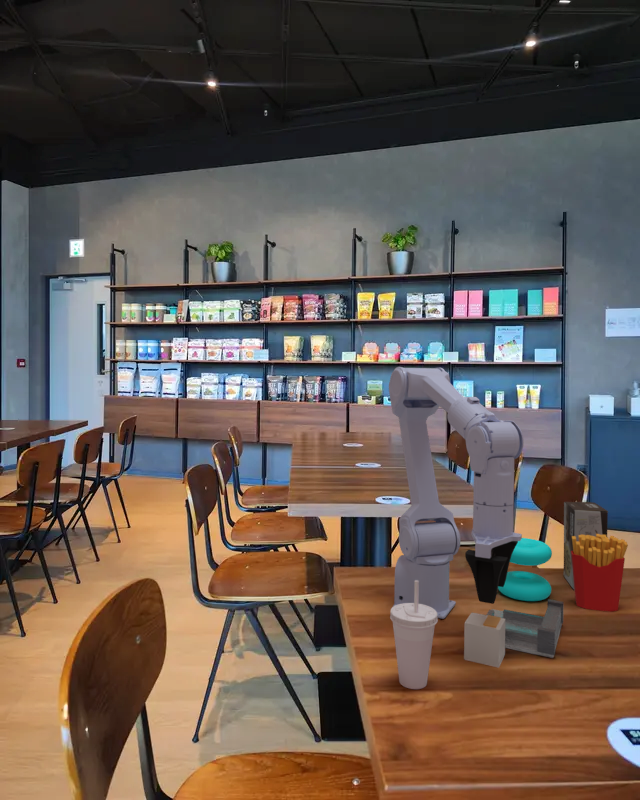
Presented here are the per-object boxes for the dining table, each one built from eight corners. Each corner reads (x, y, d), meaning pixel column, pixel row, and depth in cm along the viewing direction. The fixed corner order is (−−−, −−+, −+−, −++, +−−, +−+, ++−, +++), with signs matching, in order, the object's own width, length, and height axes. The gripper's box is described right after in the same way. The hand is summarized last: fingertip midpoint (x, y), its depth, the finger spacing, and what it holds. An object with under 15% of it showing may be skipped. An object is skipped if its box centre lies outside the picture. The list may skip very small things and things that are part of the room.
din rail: (474, 641, 89) (474, 616, 89) (492, 611, 101) (492, 589, 101) (554, 659, 83) (554, 632, 83) (563, 625, 95) (563, 601, 95)
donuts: (560, 550, 104) (505, 549, 105) (559, 604, 105) (504, 603, 105) (541, 536, 114) (491, 535, 115) (540, 585, 115) (490, 584, 115)
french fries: (572, 607, 103) (573, 536, 103) (569, 599, 107) (570, 531, 107) (628, 613, 100) (629, 541, 100) (623, 604, 104) (624, 535, 104)
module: (464, 659, 83) (464, 621, 83) (471, 647, 87) (471, 610, 87) (499, 668, 81) (499, 628, 81) (504, 655, 85) (505, 617, 85)
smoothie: (407, 699, 72) (409, 591, 72) (380, 676, 78) (381, 576, 78) (447, 687, 75) (448, 583, 75) (417, 666, 81) (418, 569, 81)
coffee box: (607, 592, 111) (609, 510, 110) (572, 590, 112) (573, 509, 111) (594, 577, 119) (596, 501, 119) (562, 575, 121) (563, 500, 120)
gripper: (513, 515, 75) (512, 615, 76) (528, 496, 88) (527, 582, 89) (460, 509, 79) (459, 606, 79) (482, 492, 91) (481, 575, 92)
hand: (492, 593), depth 84 cm, fingers open, 7 cm apart
